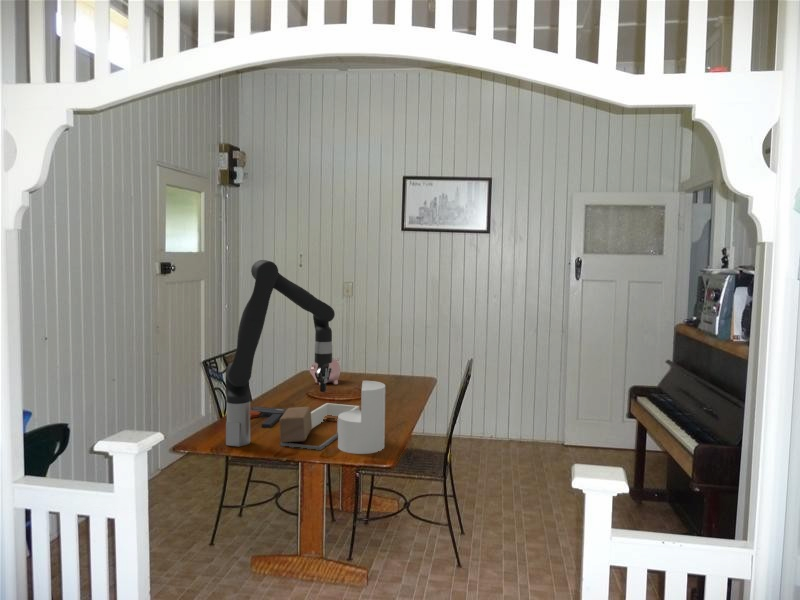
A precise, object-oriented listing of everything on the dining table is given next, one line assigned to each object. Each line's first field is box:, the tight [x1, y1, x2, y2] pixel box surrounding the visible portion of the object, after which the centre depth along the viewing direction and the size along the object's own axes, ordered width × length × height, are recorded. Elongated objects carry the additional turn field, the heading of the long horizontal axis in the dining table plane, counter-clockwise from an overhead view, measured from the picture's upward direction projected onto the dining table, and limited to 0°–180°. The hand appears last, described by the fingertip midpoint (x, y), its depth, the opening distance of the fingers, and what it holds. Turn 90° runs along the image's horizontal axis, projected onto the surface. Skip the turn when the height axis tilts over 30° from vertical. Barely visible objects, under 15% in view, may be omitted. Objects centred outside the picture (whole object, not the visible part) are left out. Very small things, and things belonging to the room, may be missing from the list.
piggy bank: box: [309, 357, 341, 386], centre depth 379 cm, size 15×18×16 cm
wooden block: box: [278, 406, 313, 443], centre depth 270 cm, size 10×10×20 cm
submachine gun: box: [250, 406, 288, 429], centre depth 299 cm, size 32×3×25 cm
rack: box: [311, 402, 360, 434], centre depth 290 cm, size 24×16×7 cm
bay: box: [279, 432, 338, 451], centre depth 268 cm, size 22×17×1 cm
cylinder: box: [337, 380, 386, 455], centre depth 261 cm, size 19×19×25 cm
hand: (323, 391), depth 278 cm, fingers closed
